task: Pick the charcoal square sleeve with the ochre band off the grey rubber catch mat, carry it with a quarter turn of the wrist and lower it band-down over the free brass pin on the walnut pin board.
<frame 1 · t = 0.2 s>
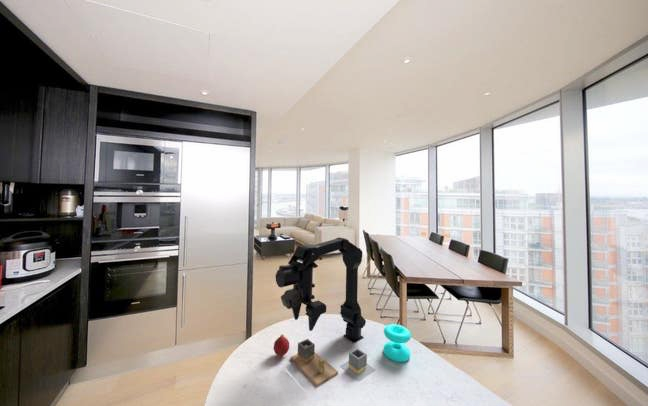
hand: (303, 324, 82), 14 cm above the countertop, tool pointing down, fingers open, 9 cm apart
catch mat: (357, 369, 81), on the countertop
pin board: (313, 367, 81), on the countertop
donuts: (396, 355, 89), on the countertop
sleeve: (357, 367, 81), resting on catch mat
onion: (281, 356, 86), on the countertop
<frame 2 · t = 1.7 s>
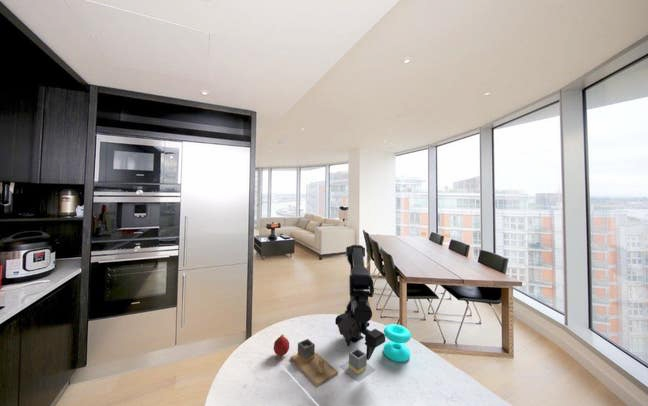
hand: (357, 352, 81), 6 cm above the countertop, tool pointing down, fingers open, 9 cm apart
nothing on the countertop moved.
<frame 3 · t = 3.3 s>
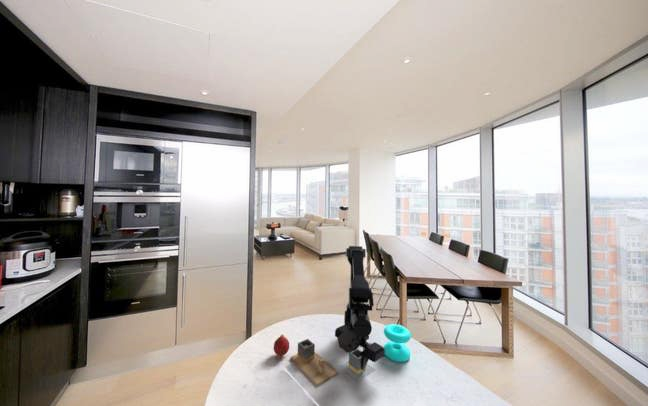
hand: (357, 365, 81), 1 cm above the countertop, tool pointing down, fingers closed on sleeve, 4 cm apart
sleeve: (357, 367, 81), resting on catch mat, touching gripper
everything else where it was.
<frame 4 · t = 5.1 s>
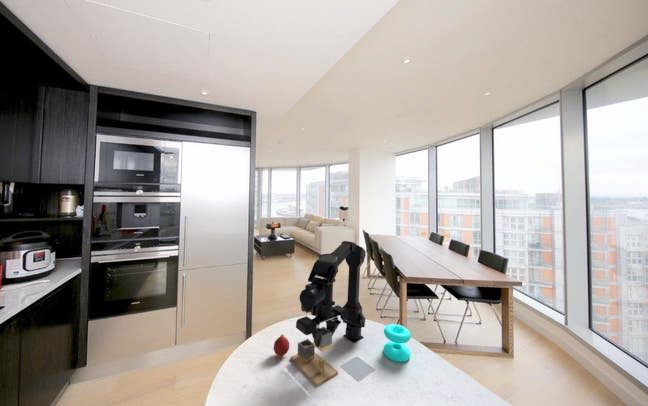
hand: (322, 344, 78), 10 cm above the countertop, tool pointing down, fingers closed on sleeve, 4 cm apart
sleeve: (322, 346, 78), point 10 cm above the countertop, touching gripper
everything else where it was.
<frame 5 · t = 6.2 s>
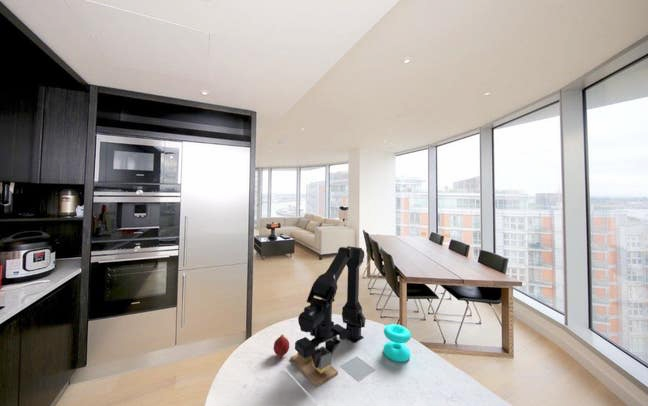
hand: (321, 364, 78), 4 cm above the countertop, tool pointing down, fingers closed on sleeve, 4 cm apart
sleeve: (321, 366, 78), point 3 cm above the countertop, touching gripper
everything else where it was.
when the fingers open (3 cm above the countertop, at t = 7.0 s): sleeve drops 1 cm, resting on pin board.
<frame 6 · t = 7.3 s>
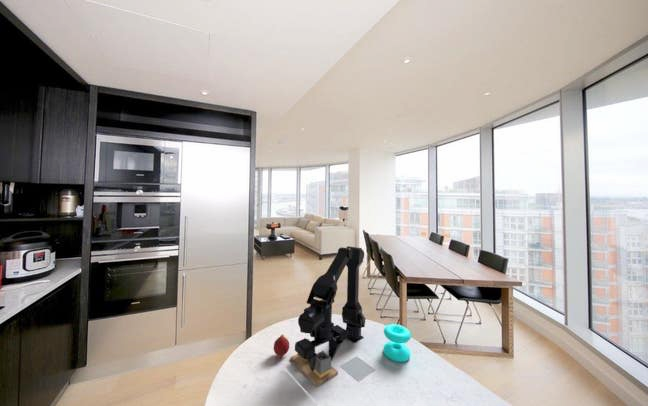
hand: (321, 365, 78), 3 cm above the countertop, tool pointing down, fingers open, 8 cm apart
sleeve: (321, 371, 78), point 1 cm above the countertop, touching pin board
everything else where it was.
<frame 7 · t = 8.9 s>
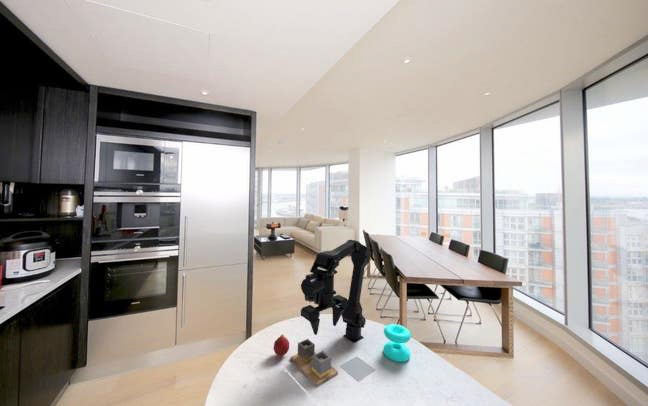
hand: (325, 329, 84), 12 cm above the countertop, tool pointing down, fingers open, 9 cm apart
nothing on the countertop moved.
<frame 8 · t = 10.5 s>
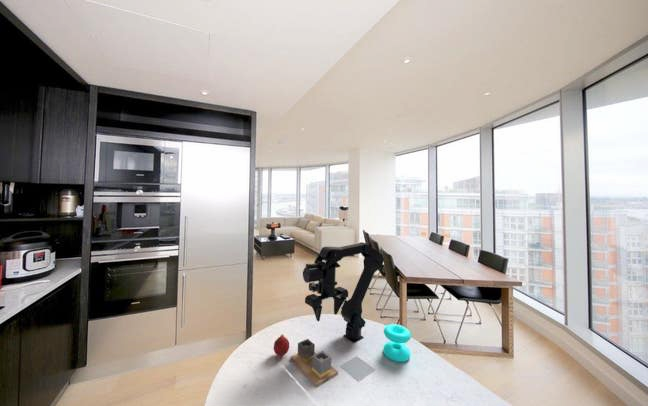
hand: (326, 317, 93), 12 cm above the countertop, tool pointing down, fingers open, 9 cm apart
nothing on the countertop moved.
at the end: sleeve 0.0 cm from the target spot on the pin board, point 1.2 cm above the pin board's base; sleeve tilted 0°; the gripper is holding nothing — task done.
